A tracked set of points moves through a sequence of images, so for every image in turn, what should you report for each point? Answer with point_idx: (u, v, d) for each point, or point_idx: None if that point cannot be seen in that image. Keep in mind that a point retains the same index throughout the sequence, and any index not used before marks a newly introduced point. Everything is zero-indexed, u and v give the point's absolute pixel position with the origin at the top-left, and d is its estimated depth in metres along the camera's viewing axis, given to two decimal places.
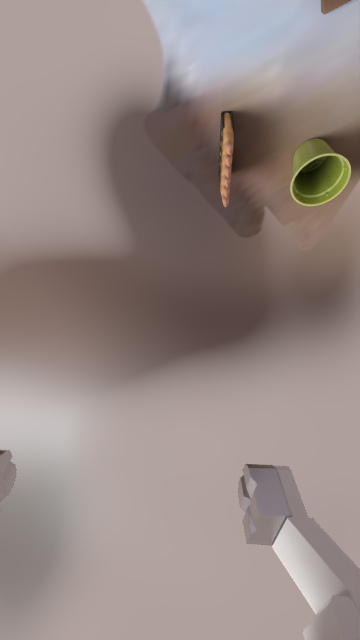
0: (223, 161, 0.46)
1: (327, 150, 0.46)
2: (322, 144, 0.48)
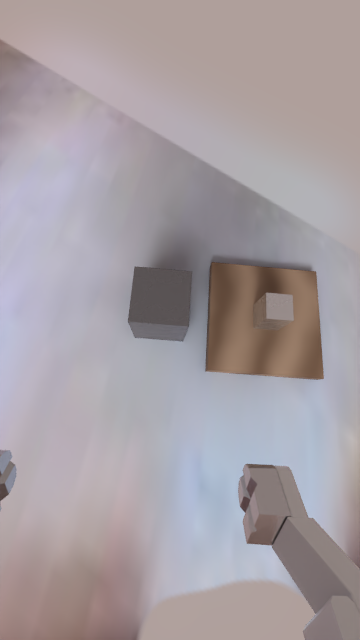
0: None
1: None
2: None
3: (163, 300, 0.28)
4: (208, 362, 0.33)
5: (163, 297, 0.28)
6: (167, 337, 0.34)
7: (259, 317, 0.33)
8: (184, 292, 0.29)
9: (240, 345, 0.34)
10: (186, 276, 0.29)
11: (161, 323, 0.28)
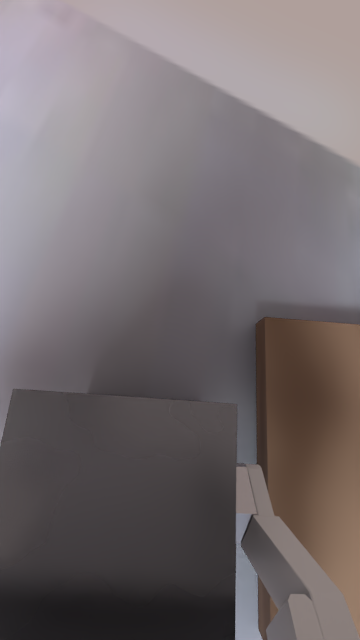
0: None
1: None
2: None
3: (120, 551, 0.07)
4: None
5: (122, 534, 0.07)
6: None
7: None
8: (211, 504, 0.07)
9: (359, 564, 0.12)
10: (217, 426, 0.07)
11: None
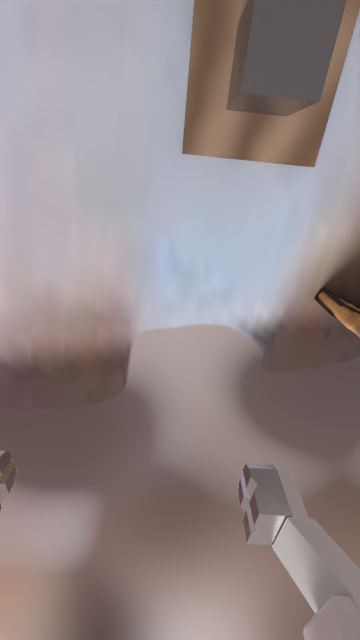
0: None
1: None
2: None
3: (293, 52, 0.20)
4: (184, 142, 0.29)
5: (295, 45, 0.19)
6: (271, 111, 0.26)
7: None
8: (328, 35, 0.19)
9: (224, 119, 0.28)
10: None
11: (284, 95, 0.21)
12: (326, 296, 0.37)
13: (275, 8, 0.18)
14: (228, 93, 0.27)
